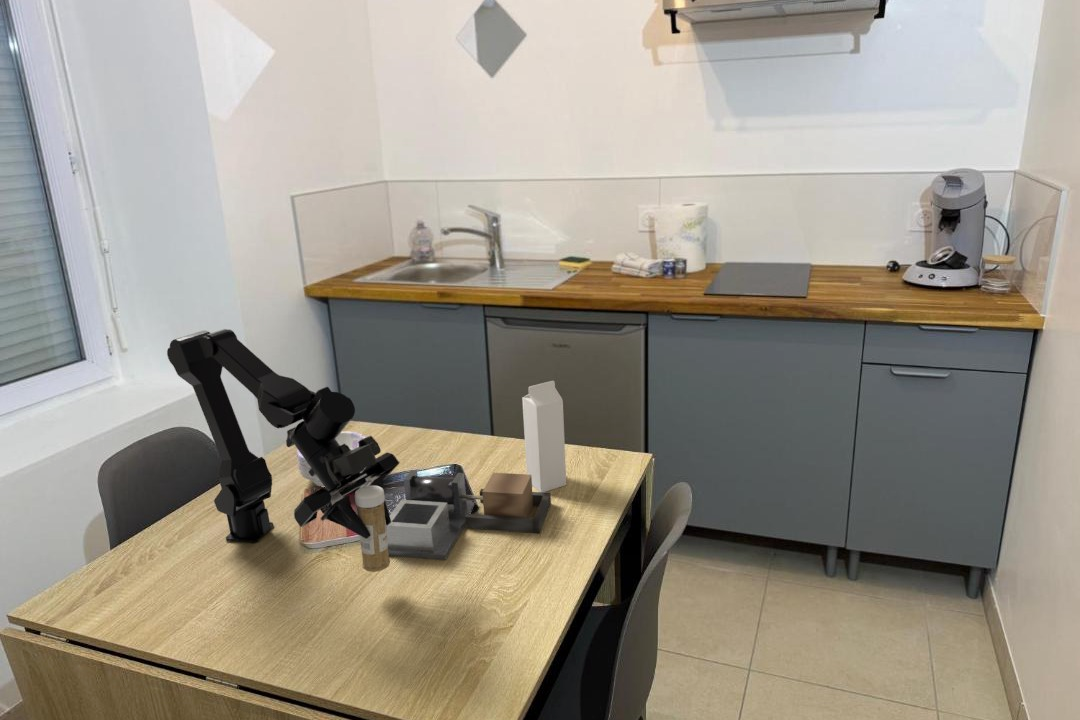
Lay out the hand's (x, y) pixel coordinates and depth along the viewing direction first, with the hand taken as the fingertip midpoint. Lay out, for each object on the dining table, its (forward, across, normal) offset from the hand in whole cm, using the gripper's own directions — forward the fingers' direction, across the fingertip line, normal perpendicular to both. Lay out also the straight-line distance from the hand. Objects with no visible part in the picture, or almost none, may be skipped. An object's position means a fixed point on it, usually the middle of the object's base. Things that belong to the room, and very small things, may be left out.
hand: (379, 530), depth 126 cm
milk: (+10, +44, +6) cm, 45 cm away
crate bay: (+11, +30, +6) cm, 32 cm away
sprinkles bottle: (+4, 0, +6) cm, 7 cm away
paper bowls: (-18, +24, +35) cm, 46 cm away
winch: (+5, +19, +12) cm, 23 cm away
